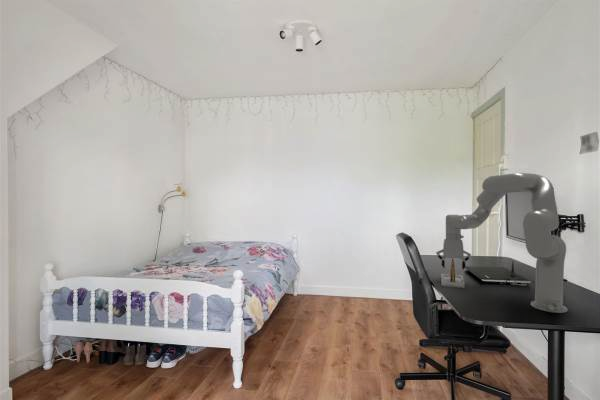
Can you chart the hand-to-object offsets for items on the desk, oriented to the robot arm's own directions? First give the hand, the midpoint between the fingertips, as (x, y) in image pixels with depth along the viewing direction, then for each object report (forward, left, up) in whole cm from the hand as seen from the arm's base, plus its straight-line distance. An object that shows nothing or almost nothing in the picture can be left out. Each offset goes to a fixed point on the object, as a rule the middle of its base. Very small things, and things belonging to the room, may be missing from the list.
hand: (453, 268), depth 180 cm
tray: (0, 0, -8) cm, 8 cm away
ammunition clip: (0, 0, -8) cm, 8 cm away
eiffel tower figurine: (+15, -30, -9) cm, 35 cm away
